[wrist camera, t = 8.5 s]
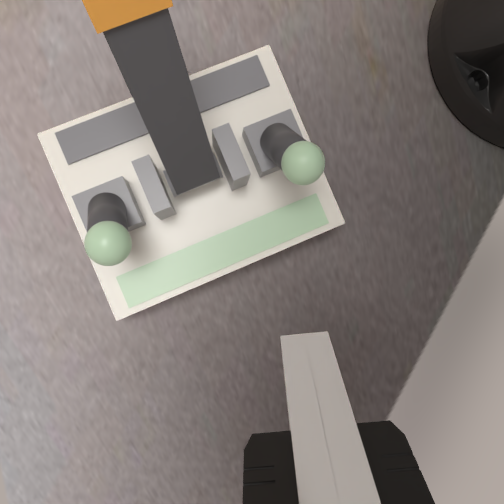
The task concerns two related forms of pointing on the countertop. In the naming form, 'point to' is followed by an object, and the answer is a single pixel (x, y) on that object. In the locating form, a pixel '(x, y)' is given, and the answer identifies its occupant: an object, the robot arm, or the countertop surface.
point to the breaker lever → (159, 86)
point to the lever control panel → (200, 199)
